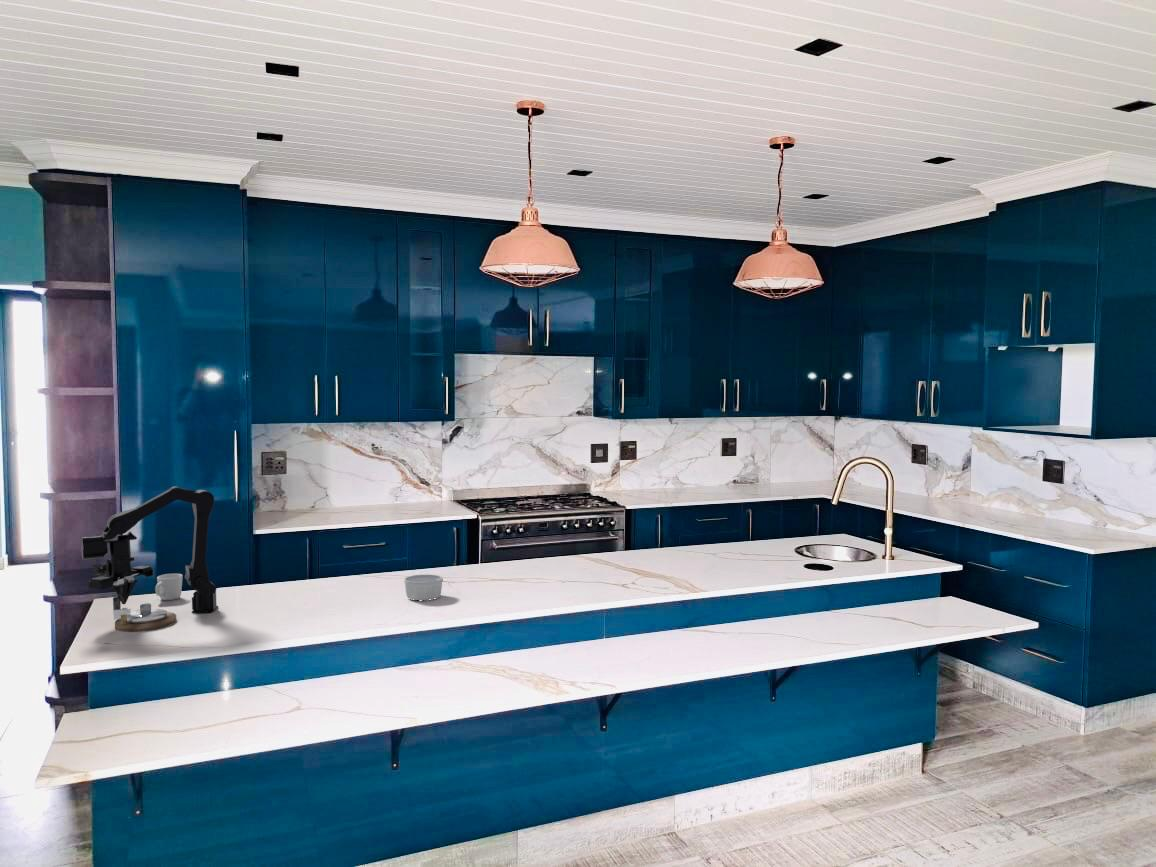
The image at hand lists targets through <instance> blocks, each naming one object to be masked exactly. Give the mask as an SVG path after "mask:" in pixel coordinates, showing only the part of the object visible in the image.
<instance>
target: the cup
mask: <svg viewBox="0 0 1156 867" xmlns="http://www.w3.org/2000/svg"><path fill="white" fill-rule="evenodd" d="M183 576H184V575H183V574H182V573H165V574H161V575H158V576H157V577H156V581H157V583H156V585H155V587H154V590H155V594H156V596H157V597H159V598H160V600H163V601H172V600H177V599H179V598H181V595H182V590H183V589H182V587H183Z"/></svg>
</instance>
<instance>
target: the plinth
mask: <svg viewBox="0 0 1156 867" xmlns="http://www.w3.org/2000/svg"><path fill="white" fill-rule="evenodd" d="M176 622H177V614H176V613H174V612H170V611H167V617H166V618H164V619H162V620H158V621H154V622H149V623H127V615H121V619H117V620H115V621H114V629H115V630H118V631H121V632H129V633H130V632H146V631H154V630H158V629H162V628H167V627H169V626H171V625H174V624H175V623H176Z"/></svg>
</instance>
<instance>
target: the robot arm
mask: <svg viewBox="0 0 1156 867" xmlns="http://www.w3.org/2000/svg"><path fill="white" fill-rule="evenodd" d="M175 501H181V502H186V503H190V504H192V505H191V506H192V511H193V516H194V522H193V523H194V524H193V526H194V529H193V541H192V558H191V559H192V560H191V562H190V565H184V566H185V575H184V579H185V580H186V582H187V584H188V585H189V586H190V587H191V588H192V589H193V590H194V592H193V593H192V596H193V597H191V610H192V611H191V613H192V614H196V613H199V614H200V613H201V614H203V613H206V614H207V613H213V612H215V611H216V610H217V609H218V608H219V605H218V604H217V589H218V587H217V586H216V585H215V584H214V583H213V582H212V581H210V576H209V569H208V565H207V550H208V549H207V548H208V533H209V520H210V516H211V514H212V511H213V507H214V503H215V496H214V495H213V494H212V493H211V492H209V491H208V490H205V489H197V490H192V489H187V488H183V487H182V488H181V487H179V486H176V485H175V486H172V487H170V488H168V489H167V490H165V491H163V492H161V493H160V494H158V495H156V496H154V497H152V498H151V499H148V500H147V501H144V502H143V503H141V504H140V505H139V504H138V506H135V507H134V508H130V509H127V510H124V511H120V512H117V513H116V514H113V515H110V517H109V518H108V520H107V523H106V527H105V528H104V530H103V531H102V532H101V534H100V535H97V536H83V537H81V546H80V548H81V558H82V561H84V560H85V561H86V560H91V559H100V558H101V559H102V558H104V557H105V556H106V555H108V552H109V558H108V559H107V560H106V564H104V565H102V563H96V564H93V565H92V568H91V570H92V575H93V576H96V577H93V578H90V580H89V581H88V588H89V589H94V590H106V589H109V588H112V589H113V590H114V591H115V593H116V594H117V597H118V596H119V597H120V602H121V605H126V604H127V602H128V599H129V597H130V594H131V593H132V591H133V589H134V588H135V585H136V584H137V583H139V582H138V581H139V580H137V579H135V577H138V576H144V577H145V578H147V577H151V576H154V569H153V568H152V566H150V565H149V566H147V565H138V566H134V567H133V566H132V562H134V561H135V557H133V556H132V552H131V551H132V550H131V549H132V548H131V541H133V540H134V541H135V540H137V539H138V537H137V536H136V535H134V534H133V533H132V531H130V530H131V529H132V528H133V527H135V526H136V525H137V524H138V523H139V522H141V521H142V520H143V519H144V518H146V517H148V516H150V515H151V514H154V513H155V512H157V511H160V509H162V508H164V507H166V506H168V505H169V504H171V503H173V502H175ZM108 543H109V545H108ZM108 546H109V551H108Z"/></svg>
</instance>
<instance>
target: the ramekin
mask: <svg viewBox="0 0 1156 867" xmlns="http://www.w3.org/2000/svg"><path fill="white" fill-rule="evenodd" d="M403 583H404V586H405V587H404V588H405V594H406V597H407V599H409V598H410V599H414V600H429V599H434V598H438V597H439V598H440V597H441V594H442V588H443V587H442V586H443V583H444V578H443V576H441V575H438V574H430V573H427V574H426V573H425V574H413V575H409V576H406V577H405V578H404V579H403ZM439 598H438V599H439ZM410 599H409V600H410Z"/></svg>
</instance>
